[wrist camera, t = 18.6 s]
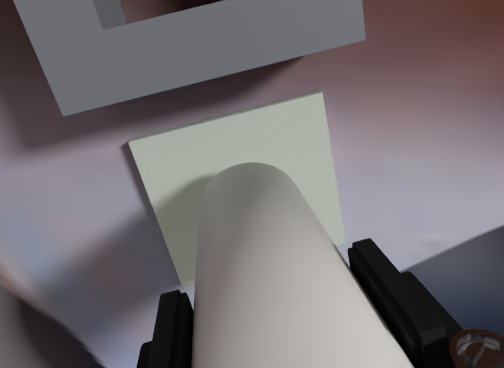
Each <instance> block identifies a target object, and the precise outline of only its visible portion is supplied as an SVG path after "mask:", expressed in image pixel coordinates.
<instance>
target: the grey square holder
mask: <svg viewBox="0 0 504 368" xmlns="http://www.w3.org/2000/svg"><path fill="white" fill-rule="evenodd" d="M13 1H14V4H15V6H16V8H17V11H18V13H19V15H20V18H21V20H22V22H23V25H24V27H25V29H26V32H27V34H28V36H29V39H30V41H31V43H32V46H33V48H34V50H35V53H36V55H37V57H38V60H39V62H40V64H41V67H42V69H43V71H44V74H45V76H46V78H47V81H48V83H49V85H50V87H51V90H52V92H53V94H54V97H55V99H56V101H57V104H58V106H59V108H60V111H61V113H62V115H63V117H64V116H68V115H72V114H76V113H80V112H83V111H87V110H91V109H95V108H99V107H103V106H107V105H111V104H115V103H119V102H123V101H127V100H131V99H135V98H139V97H143V96H147V95H151V94H154V93H158V92H162V91H166V90H170V89H174V88H178V87H182V86H186V85H190V84H194V83H198V82H202V81H206V80H210V79H214V78H218V77H221V76H225V75H229V74H233V73H237V72H241V71H245V70H249V69H253V68H257V67H261V66H265V65H269V64H273V63H277V62H281V61H285V60H289V59H292V58H296V57H300V56H304V55H308V54H312V53H316V52H320V51H324V50H328V49H332V48H336V47H340V46H344V45H348V44H352V43H356V42H359V41H363V40H366V34H365V25H364V15H363V6H362V0H223V1H219V2H215V3H211V4H207V5H203V6H199V7H195V8H191V9H187V10H183V11H179V12H175V13H171V14H167V15H163V16H159V17H155V18H151V19H147V20H142V21H138V22H134V23H130V24H127V21H126V18H125V15H124V12H123V9H122V6H121V3H120V0H13Z"/></svg>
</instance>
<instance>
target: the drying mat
mask: <svg viewBox="0 0 504 368" xmlns="http://www.w3.org/2000/svg"><path fill="white" fill-rule="evenodd" d="M128 143H129V146H130V148H131V151H132V154H133V156H134V159H135V162H136V164H137V167H138V170H139V172H140V175H141V178H142V180H143V183H144V186H145V189H146V191H147V194H148V197H149V199H150V202H151V205H152V207H153V210H154V213H155V215H156V218H157V221H158V224H159V226H160V229H161V232H162V234H163V237H164V240H165V242H166V245H167V248H168V250H169V253H170V256H171V258H172V261H173V264H174V267H175V269H176V272H177V275H178V277H179V280H180V283H181V285H182V287H184V286H188V285H191V284H195V270H196V248H197V225H198V206H199V201H200V198H201V195H202V193H203V191H204V189H205V188H206V186H207V185H208V183H209V182H210V181H211V180H212V179H213V178H214V177H215V176H216V175H218V174H219V173H220V172H222V171H223V170H225V169H227V168H229V167H231V166H234V165H237V164H241V163H249V162H258V163H265V164H269V165H272V166H274V167H276V168H278V169H280V170H282V171H283V172H285V173H286V174H287V175H288V176H289V177H290V178H291V179H292V180H293V181H294V182H295V184H296V186H297V187H298V189H299V190H300V192H301V193H302V195H303V196H304V198H305V199H306V201H307V203H308V204H309V206H310V207H311V209H312V210H313V212H314V213H315V215H316V216H317V218H318V220H319V221H320V223H321V224H322V226H323V227H324V229H325V230H326V232H327V233H328V235H329V236H330V238H331V240H332V241H333V243H334V244H335V246H337V245H340V244H344V243H346V240H345V234H344V228H343V221H342V215H341V208H340V202H339V196H338V189H337V183H336V176H335V170H334V164H333V157H332V151H331V144H330V138H329V132H328V125H327V119H326V113H325V106H324V100H323V93H322V92H320V91H316V92H313V93H309V94H305V95H301V96H297V97H293V98H289V99H285V100H281V101H277V102H274V103H270V104H266V105H262V106H258V107H254V108H250V109H246V110H242V111H239V112H235V113H231V114H227V115H223V116H219V117H215V118H211V119H207V120H203V121H200V122H196V123H192V124H188V125H184V126H180V127H176V128H172V129H168V130H164V131H161V132H157V133H153V134H149V135H145V136H141V137H137V138H133V139H130V140H129V142H128Z"/></svg>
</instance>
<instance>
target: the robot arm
mask: <svg viewBox="0 0 504 368" xmlns="http://www.w3.org/2000/svg"><path fill="white" fill-rule="evenodd" d="M348 257H349V263H350V269H351V270H352V272H353V274H354V275H355V277H356V278H357V280H358V281H359V283H360V284H361V286H362V287H363V289H364V290H365V292H366V294H367V295H368V297H369V298H370V300H371V301H372V303H373V304H374V306H375V307H376V309H377V311H378V312H379V314H380V315H381V317H382V318H383V320H384V321H385V323H386V324H387V326H388V328H389V329H390V331H391V332H392V334H393V335H394V337H395V338H396V340H397V341H398V343H399V345H400V346H401V348H402V349H403V351H404V352H405V354H406V355H407V357H408V358H409V360H410V361H411V363H412V365H413V366H414V368H504V337H503V336H501V335H499V334H497V333H494V332H491V331H487V330H484V329H468V330H463V329H462V328H461V327H460V326H459V324H458V323H457V322H456V321H455V320H454V319H453V318H452V317H451V316H450V315H449V313H448V312H447V311H446V310H445V309H444V308H443V307H442V306H441V305H440V304H439V302H438V301H437V300H436V299H435V298H434V297H433V296H432V295H431V294H430V292H429V291H428V290H427V289H426V288H425V287H424V286H423V285H422V284H421V282H420V281H419V280H418V279H417V278H416V277H415V276H414V275H413V274H412V273H411V272H403V273H400V272H399V271H398V270H397V269H396V267H395V266H394V265H393V264H392V263H391V262H390V260H389V259H388V258H387V257H386V256H385V255H384V253H383V252H382V251H381V250H380V249H379V248H378V246H377V245H376V244H375V243H374V242H373V241H372V239H370V238H368V239H364V240H361V241H357V242H353V244H352V248H348ZM193 315H194V311H193V308H192V306H191V303H190V300H189V297H188V295H187V293H186V292H185V293H181V292H180V291H179V290H175V291H171V292H167V293H163V294H161V296H160V300H159V306H158V312H157V317H156V323H155V328H154V334H153V339H152V341H150V342H146V343H143V345H142V347H141V350H140V354H139V359H138V363H137V368H191V360H192V338H193Z"/></svg>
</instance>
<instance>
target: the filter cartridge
mask: <svg viewBox="0 0 504 368" xmlns="http://www.w3.org/2000/svg"><path fill="white" fill-rule="evenodd" d="M191 368H414V366H413V365H412V363H411V361H410V360H409V358H408V357H407V355H406V354H405V352H404V351H403V349H402V348H401V346H400V345H399V343H398V341H397V340H396V338H395V337H394V335H393V334H392V332H391V331H390V329H389V328H388V326H387V324H386V323H385V321H384V320H383V318H382V317H381V315H380V314H379V312H378V311H377V309H376V307H375V306H374V304H373V303H372V301H371V300H370V298H369V297H368V295H367V294H366V292H365V290H364V289H363V287H362V286H361V284H360V283H359V281H358V280H357V278H356V277H355V275H354V274H353V272H352V270H351V269H350V267H349V266H348V264H347V263H346V261H345V260H344V258H343V257H342V255H341V253H340V252H339V250H338V249H337V247H336V246H335V244H334V243H333V241H332V240H331V238H330V236H329V235H328V233H327V232H326V230H325V229H324V227H323V226H322V224H321V223H320V221H319V220H318V218H317V216H316V215H315V213H314V212H313V210H312V209H311V207H310V206H309V204H308V203H307V201H306V199H305V198H304V196H303V195H302V193H301V192H300V190H299V189H298V187H297V186H296V184H295V182H294V181H293V180H292V179H291V178H290V177H289V176H288V175H287V174H286V173H285V172H283V171H282V170H280V169H278V168H276V167H274V166H272V165H269V164H265V163H258V162H249V163H241V164H237V165H234V166H231V167H229V168H227V169H225V170H223V171H222V172H220V173H219V174H218V175H216V176H215V177H214V178H213V179H212V180H211V181H210V182H209V183H208V185H207V186H206V188H205V189H204V191H203V193H202V195H201V198H200V201H199V206H198V225H197V248H196V270H195V293H194V315H193V338H192V360H191Z"/></svg>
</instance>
